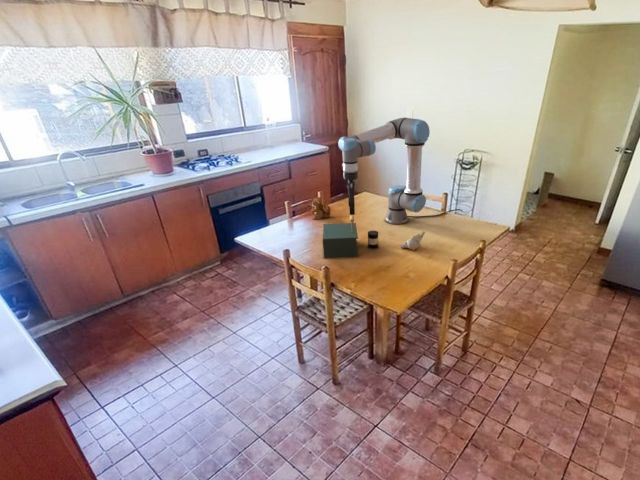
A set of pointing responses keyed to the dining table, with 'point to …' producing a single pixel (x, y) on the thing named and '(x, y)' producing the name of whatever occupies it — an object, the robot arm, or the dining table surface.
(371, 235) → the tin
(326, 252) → the open box
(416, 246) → the seashell
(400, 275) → the dining table surface
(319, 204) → the stuffed squirrel
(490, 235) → the dining table surface
